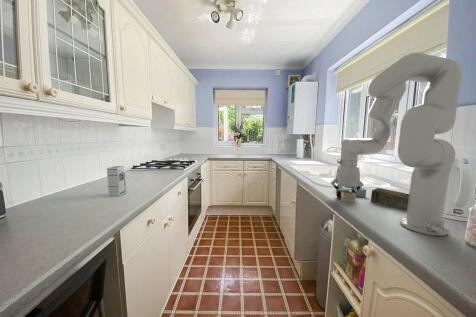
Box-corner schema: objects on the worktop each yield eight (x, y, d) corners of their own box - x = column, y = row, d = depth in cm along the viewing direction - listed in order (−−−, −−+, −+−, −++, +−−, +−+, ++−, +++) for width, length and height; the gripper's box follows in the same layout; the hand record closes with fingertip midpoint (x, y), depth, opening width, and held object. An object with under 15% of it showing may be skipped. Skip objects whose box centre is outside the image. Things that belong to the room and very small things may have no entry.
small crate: (354, 201, 102) (355, 193, 102) (341, 201, 103) (342, 193, 102) (349, 197, 109) (349, 190, 109) (337, 197, 110) (337, 189, 109)
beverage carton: (419, 214, 88) (421, 199, 87) (369, 202, 103) (370, 189, 103) (424, 210, 93) (426, 195, 92) (376, 199, 108) (377, 186, 107)
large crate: (365, 196, 111) (366, 189, 110) (344, 195, 112) (345, 188, 111) (356, 190, 122) (356, 184, 122) (337, 190, 123) (337, 183, 123)
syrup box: (119, 196, 105) (118, 167, 103) (108, 196, 105) (106, 167, 103) (126, 193, 111) (124, 166, 109) (115, 192, 111) (113, 165, 109)
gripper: (332, 163, 101) (330, 199, 103) (371, 165, 99) (367, 201, 101) (328, 161, 108) (325, 195, 111) (363, 162, 106) (360, 197, 109)
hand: (345, 198), depth 106 cm, fingers closed on small crate, 6 cm apart
